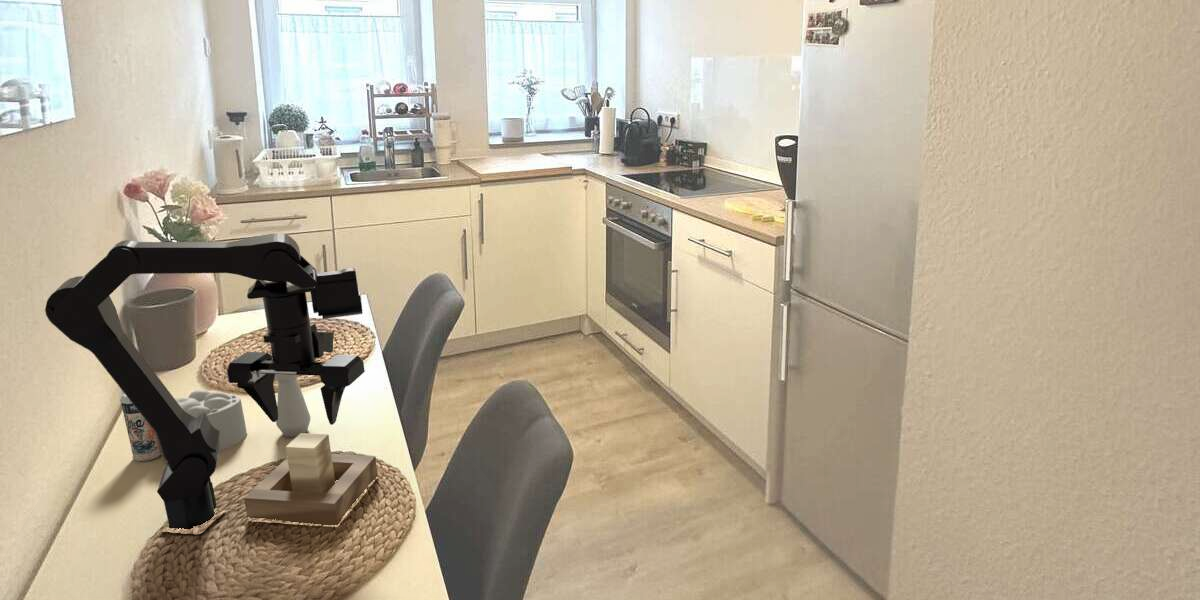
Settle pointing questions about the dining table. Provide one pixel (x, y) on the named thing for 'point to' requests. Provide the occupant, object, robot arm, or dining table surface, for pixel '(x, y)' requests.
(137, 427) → the beer can
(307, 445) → the birch peg
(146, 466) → the dining table surface
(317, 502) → the socket block
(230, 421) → the lumpy-topped squat cylinder
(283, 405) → the salt shaker
